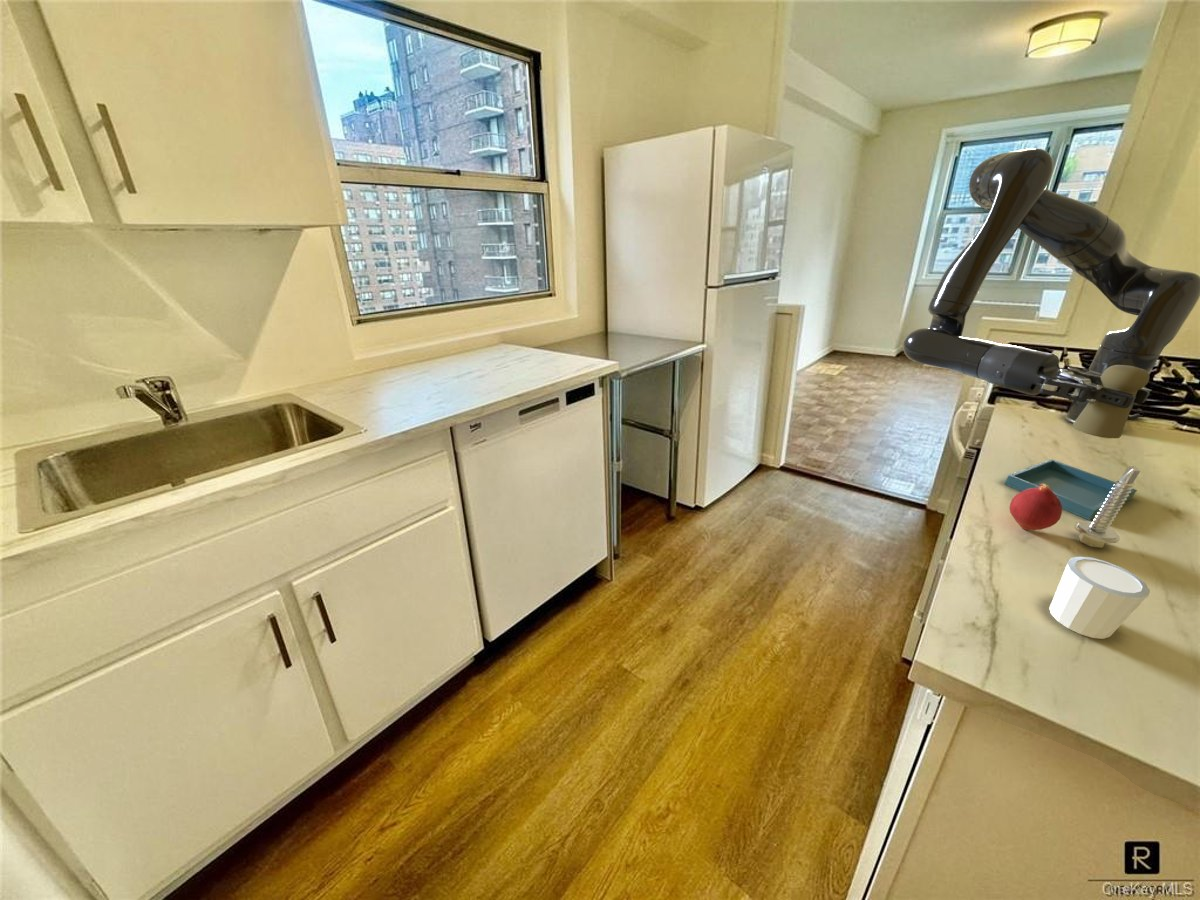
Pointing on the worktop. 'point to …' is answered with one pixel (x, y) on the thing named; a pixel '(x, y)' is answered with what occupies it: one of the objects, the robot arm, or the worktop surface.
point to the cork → (1108, 417)
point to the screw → (1107, 513)
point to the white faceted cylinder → (1096, 597)
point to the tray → (1067, 486)
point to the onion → (1036, 508)
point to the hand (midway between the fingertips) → (1138, 399)
